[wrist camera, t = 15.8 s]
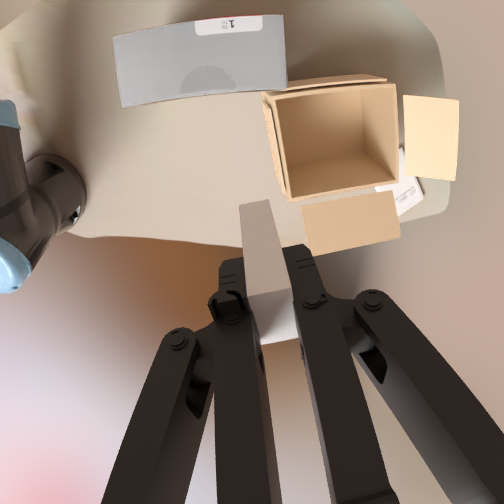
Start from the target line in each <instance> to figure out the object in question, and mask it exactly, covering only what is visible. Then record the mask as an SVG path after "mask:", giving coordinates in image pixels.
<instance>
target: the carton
mask: <svg viewBox="0 0 504 504" xmlns="http://www.w3.org/2000/svg"><path fill="white" fill-rule="evenodd" d="M261 96H262V106H263V111H264V116H265V121H266V126H267V131H268V136H269V142H270V147H271V152H272V158H273V163H274V169H275V174H276V176H277V179H278V182H279V184H280V187H281V189H282V192H283V195H284V194H285V195H286V198H287V200H288V202H293V201H298V200H303V199H309V198H314V197H319V196H325V195H330V194H336V193H341V192H347V191H352V190H358V189H364V188H370V187H376V186H382V185H388V184H394V183H399V132H398V109H397V93H396V84H395V83H391V82H387V79H386V78H382V77H377V76H373V75H368V74H355V75H341V76H330V77H320V78H311V79H303V80H296V81H289V82H288V88H286V89H285V90H281V91H265V92H261Z"/></svg>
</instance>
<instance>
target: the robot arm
mask: <svg viewBox="0 0 504 504" xmlns="http://www.w3.org/2000/svg"><path fill="white" fill-rule="evenodd" d="M19 130H21V128H20V126H19V124H18V118H17V111H16V107H15V104H14V103H13V102H12V101H10V100H0V293H11V292H14V291H16V290H18V288H20V287H21V285H22V284H23V283H24V281H25V280H26V278H28V277H29V276H30V274H31V272H32V271H33V269H34V267H35V266H36V264H37V262H38V261H39V259H40V258H41V256H42V254H43V253H44V251H45V250H46V248H47V247H48V245H49V244H50V242H51V241H52V240H53V238H54V237H56V236H58V235H60V234H62V233H64V232H65V231H67V230H69V229H70V228H72V227H73V226H74V225H75V224H76V222H77V221H78V220H79V218H80V217H81V215H82V214H83V211H84V209H85V204H86V191H85V186H84V183H83V180H82V178H81V176H80V175H79V173H78V171H77V170H76V169H75V168H74V167H73V165H72V164H70V163H69V162H68V161H67V160H65V159H64V158H62V157H59V156H57V155H52V154H43V155H39V156H37V157H35V158H33V159H32V160H30V161H29V162H28V163H26V164H25V163H24V158H23V152H22V146H21V139H20V132H19ZM239 210H240V222H241V233H242V245H243V255H244V257H240V258H235V259H230V260H225V261H223V262H222V264H221V266H220V268H219V291H217V292H216V293H214V294H213V295H212V297H211V298H210V299H209V301H208V307H209V309H210V311H211V314H212V317H213V319H214V321H213V322H212V323H211V324H209V325H208V326H206V327H205V328H202V329H200V330H198V331H196V332H193V331H192V330H190V329H188V328H184V327H183V328H177V329H174V330H172V331H170V332H169V333H168V334H167V335H165V337H164V338H163V340H162V342H161V344H160V347H159V349H158V351H157V354H156V356H155V359H154V361H153V363H152V366H151V368H150V371H149V373H148V376H147V379H146V381H145V383H144V386H143V388H142V391H141V394H140V396H139V399H138V402H137V404H136V406H135V409H134V412H133V414H132V417H131V420H130V423H129V425H128V428H127V430H126V433H125V436H124V439H123V441H122V444H121V447H120V449H119V453H118V455H117V458H116V461H115V463H114V466H113V469H112V472H111V475H110V478H109V481H108V484H107V487H106V490H105V493H104V496H103V499H102V502H101V504H185V500H186V496H187V492H188V488H189V485H190V481H191V477H192V473H193V469H194V466H195V462H196V458H197V454H198V450H199V446H200V443H201V439H202V435H203V431H204V427H205V424H206V420H207V416H208V412H209V408H210V405H211V401H212V397H213V393H214V410H215V411H214V414H215V454H216V481H217V482H216V483H217V503H218V504H282V497H281V489H280V482H279V474H278V466H277V458H276V451H275V443H274V435H273V427H272V419H271V412H270V404H269V396H268V389H267V380H266V372H265V365H264V357H263V353H262V350H261V344H262V345H263V344H268V343H274V342H279V341H284V340H289V339H294V338H299V341H300V348H301V356H302V360H303V362H304V367H305V371H306V376H307V381H308V385H309V390H310V395H311V400H312V405H313V410H314V415H315V420H316V425H317V430H318V435H319V440H320V445H321V450H322V455H323V461H324V466H325V471H326V476H327V482H328V487H329V493H330V498H331V504H400V503H399V500H398V497H397V495H396V493H395V492H394V491H393V489H392V488H391V486H390V484H389V480H388V477H387V473H386V469H385V465H384V461H383V458H382V454H381V450H380V447H379V443H378V440H377V436H376V433H375V429H374V426H373V422H372V419H371V416H370V412H369V409H368V406H367V402H366V400H365V396H364V393H363V390H362V386H361V383H360V380H359V377H358V374H357V371H356V368H355V365H354V362H353V359H352V356H351V353H353V355H354V356H355V358H356V359H357V361H358V362H359V363H360V365H361V366H362V368H363V369H364V371H365V372H366V374H367V375H368V377H369V378H370V380H371V381H372V383H373V384H374V386H375V387H376V389H377V390H378V391H379V393H380V394H381V396H382V397H383V399H384V400H385V402H386V403H387V405H388V406H389V408H390V409H391V411H392V412H393V414H394V415H395V417H396V418H397V420H398V421H399V423H400V424H401V426H402V427H403V429H404V430H405V432H406V433H407V435H408V436H409V438H410V440H411V441H412V443H413V444H414V446H415V447H416V449H417V450H418V452H419V453H420V455H421V456H422V458H423V459H424V461H425V462H426V464H427V466H428V467H429V469H430V470H431V472H432V473H433V475H434V477H435V478H436V480H437V481H438V483H439V484H440V486H441V488H442V489H443V491H444V492H445V494H446V496H447V497H448V498H449V500H450V501H451V502H452V504H504V434H503V432H502V431H501V430H500V428H499V427H498V426H497V424H496V423H495V422H494V420H493V419H492V418H491V417H490V415H489V414H488V412H487V411H486V410H485V408H484V407H483V406H482V405H481V403H480V402H479V401H478V399H476V397H475V396H474V395H473V393H472V392H471V391H470V390H469V388H468V387H467V386H466V384H465V383H464V382H463V381H462V380H461V378H460V377H459V376H458V375H457V373H456V372H455V371H454V370H453V369H452V367H451V366H450V365H449V364H448V363H447V361H446V360H445V359H444V358H443V357H442V355H441V354H440V353H439V352H438V351H437V350H436V348H435V347H434V346H433V345H432V344H431V343H430V341H429V340H428V339H427V338H426V337H425V336H424V335H423V334H422V332H421V331H420V330H419V329H418V328H417V327H416V326H415V324H414V323H413V322H412V321H411V320H410V319H409V318H408V317H407V316H406V314H405V313H404V312H403V311H402V310H401V309H400V308H399V307H398V306H397V305H396V304H395V303H394V301H393V300H392V299H391V298H390V297H389V296H388V295H387V294H385V293H384V292H382V291H379V290H375V289H373V290H372V289H369V290H365V291H362V292H361V293H360V294H358V295H357V296H356V298H355V299H354V300H348V299H339V298H335V297H333V296H331V295H330V294H328V293H327V292H326V290H325V288H324V286H323V283H322V280H321V277H320V275H319V272H318V269H317V267H316V264H315V261H314V259H313V256H312V253H311V251H310V249H309V248H307V247H306V246H305V245H304V244H299V245H295V246H290V247H285V248H281V244H280V241H279V237H278V233H277V229H276V226H275V222H274V218H273V214H272V211H271V207H270V203H269V200H263V201H258V202H253V203H248V204H243V205H239ZM260 342H261V343H260Z"/></svg>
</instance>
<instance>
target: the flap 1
mask: <svg viewBox="0 0 504 504" xmlns="http://www.w3.org/2000/svg"><path fill="white" fill-rule="evenodd" d="M300 208H301V213H302V217H303V222H304V227H305V232H306V237H307V242H308V247H309V249H310V251H311V253H312V256H316V255H321V254H326V253H331V252H335V251H340V250H345V249H349V248H354V247H359V246H364V245H368V244H373V243H377V242H382V241H387V240H391V239H396V238H400V237H401V232H400V226H399V220H398V215H397V210H396V205H395V200H394V195H393V191H392V190H389V191H383V192H377V193H371V194H366V195H360V196H354V197H349V198H343V199H338V200H332V201H327V202H322V203H316V204H311V205H306V206H301V207H300Z"/></svg>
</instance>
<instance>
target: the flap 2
mask: <svg viewBox="0 0 504 504" xmlns="http://www.w3.org/2000/svg"><path fill="white" fill-rule="evenodd" d="M403 103H404V125H405V175H406V176H417V177H427V178H436V179H444V180H452V181H455V176H456V165H457V151H458V129H459V100H455V99H447V98H438V97H427V96H415V95H403Z"/></svg>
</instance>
